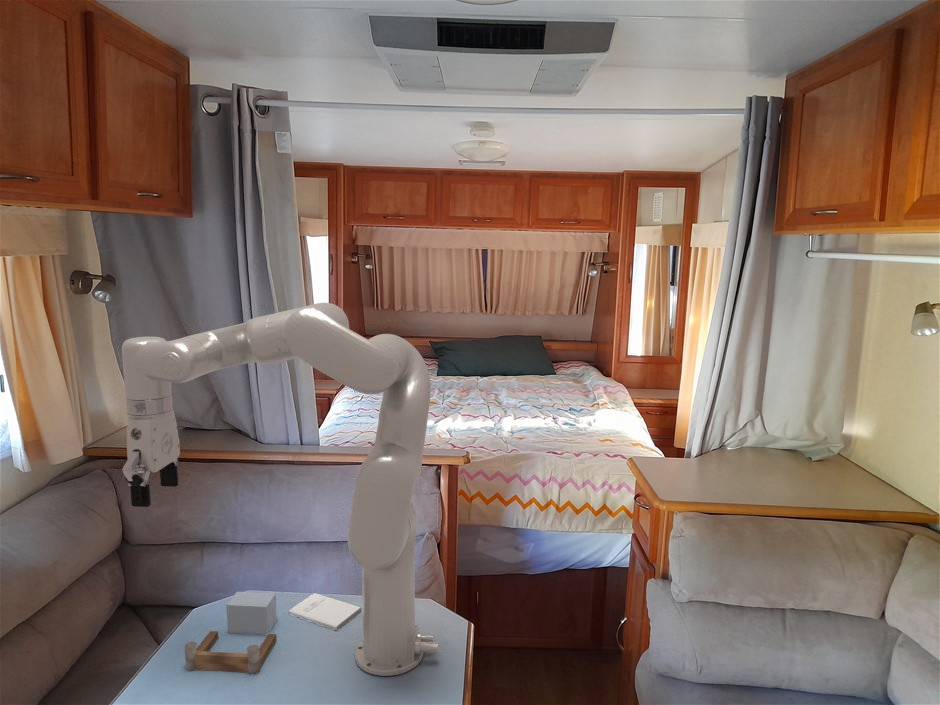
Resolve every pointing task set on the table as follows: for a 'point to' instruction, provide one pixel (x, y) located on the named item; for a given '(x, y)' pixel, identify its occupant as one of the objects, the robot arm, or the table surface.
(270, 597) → the tall white block
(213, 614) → the table surface
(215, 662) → the frame
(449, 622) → the table surface
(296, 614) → the external hard drive
